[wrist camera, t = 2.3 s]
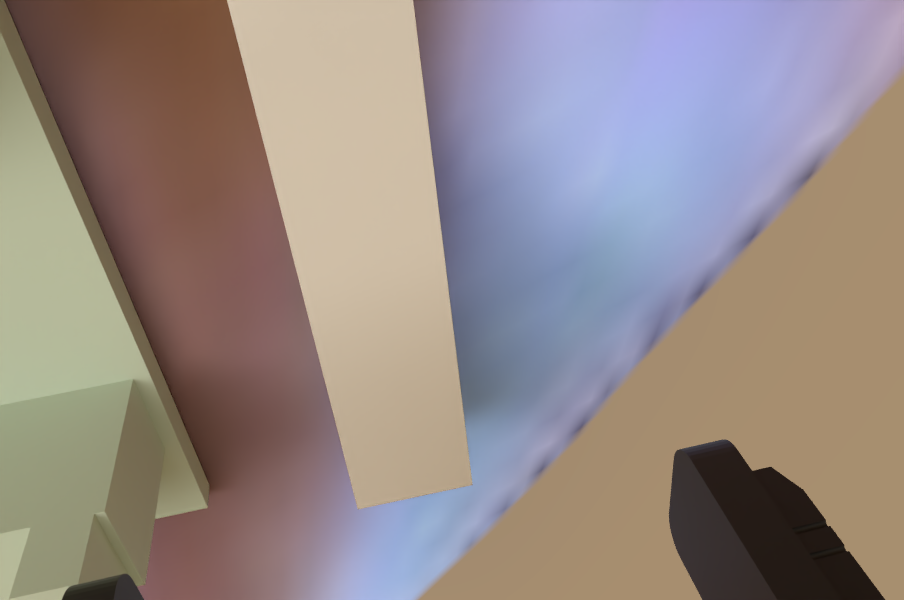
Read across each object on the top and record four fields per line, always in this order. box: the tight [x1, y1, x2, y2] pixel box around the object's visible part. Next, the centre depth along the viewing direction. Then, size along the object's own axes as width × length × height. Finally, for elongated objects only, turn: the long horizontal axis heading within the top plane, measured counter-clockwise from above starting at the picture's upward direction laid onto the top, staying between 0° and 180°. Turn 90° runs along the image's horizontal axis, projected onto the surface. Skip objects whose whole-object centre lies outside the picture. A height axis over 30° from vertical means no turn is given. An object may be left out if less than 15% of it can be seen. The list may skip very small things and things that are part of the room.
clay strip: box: [227, 0, 472, 509], centre depth 20 cm, size 18×4×4 cm, turn 6°
